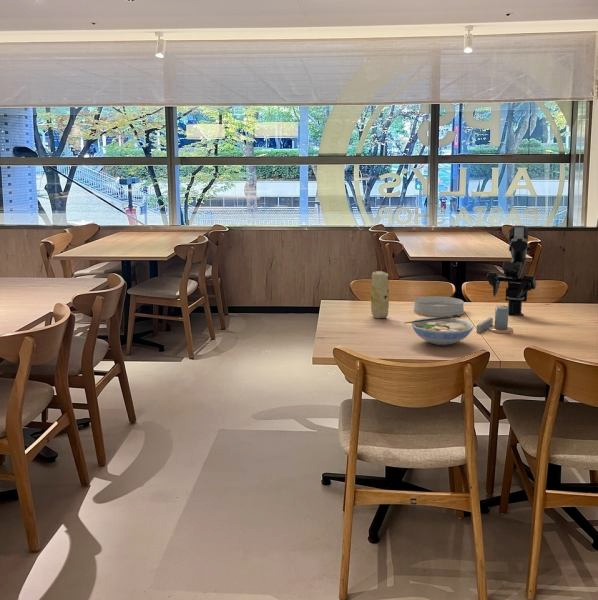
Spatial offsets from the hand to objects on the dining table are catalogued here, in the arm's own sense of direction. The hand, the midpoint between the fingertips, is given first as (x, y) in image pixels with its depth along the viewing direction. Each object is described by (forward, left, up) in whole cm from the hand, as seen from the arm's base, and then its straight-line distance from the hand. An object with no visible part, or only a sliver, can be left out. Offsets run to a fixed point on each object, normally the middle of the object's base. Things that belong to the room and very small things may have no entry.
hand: (505, 297), depth 269 cm
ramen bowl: (+22, -29, -13) cm, 38 cm away
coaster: (+3, -2, -13) cm, 13 cm away
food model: (-22, -48, -13) cm, 54 cm away
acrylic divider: (-1, -7, -13) cm, 15 cm away
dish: (-34, -20, -14) cm, 42 cm away
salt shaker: (+3, -2, -12) cm, 13 cm away
